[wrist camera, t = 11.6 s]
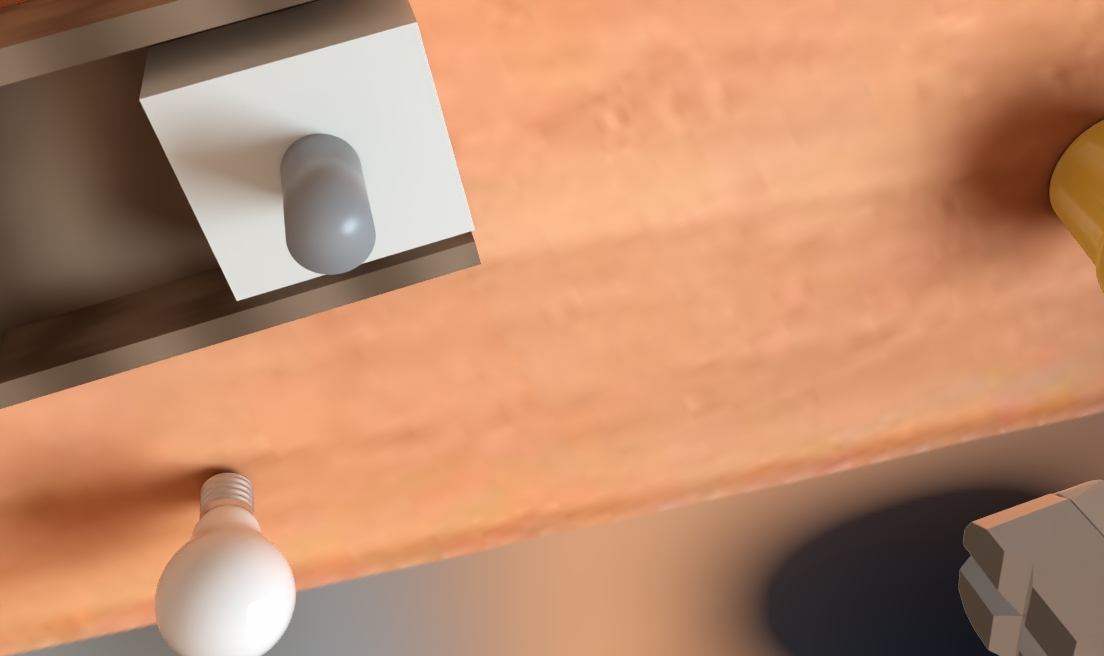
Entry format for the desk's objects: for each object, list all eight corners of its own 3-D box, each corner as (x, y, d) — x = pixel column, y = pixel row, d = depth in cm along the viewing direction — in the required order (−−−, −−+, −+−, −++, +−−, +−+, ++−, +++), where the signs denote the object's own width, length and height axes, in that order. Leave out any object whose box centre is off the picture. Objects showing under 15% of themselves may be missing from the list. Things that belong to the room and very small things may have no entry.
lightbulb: (139, 468, 52) (120, 644, 43) (253, 420, 52) (257, 587, 43) (203, 540, 56) (198, 714, 47) (309, 495, 56) (322, 661, 47)
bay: (375, -93, 39) (405, -23, 32) (461, 210, 47) (499, 316, 41) (-203, 63, 37) (-302, 173, 30) (-3, 347, 46) (-45, 483, 39)
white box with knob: (399, -22, 40) (439, 76, 32) (454, 174, 45) (500, 297, 37) (148, 47, 39) (127, 164, 31) (236, 238, 44) (237, 378, 37)
